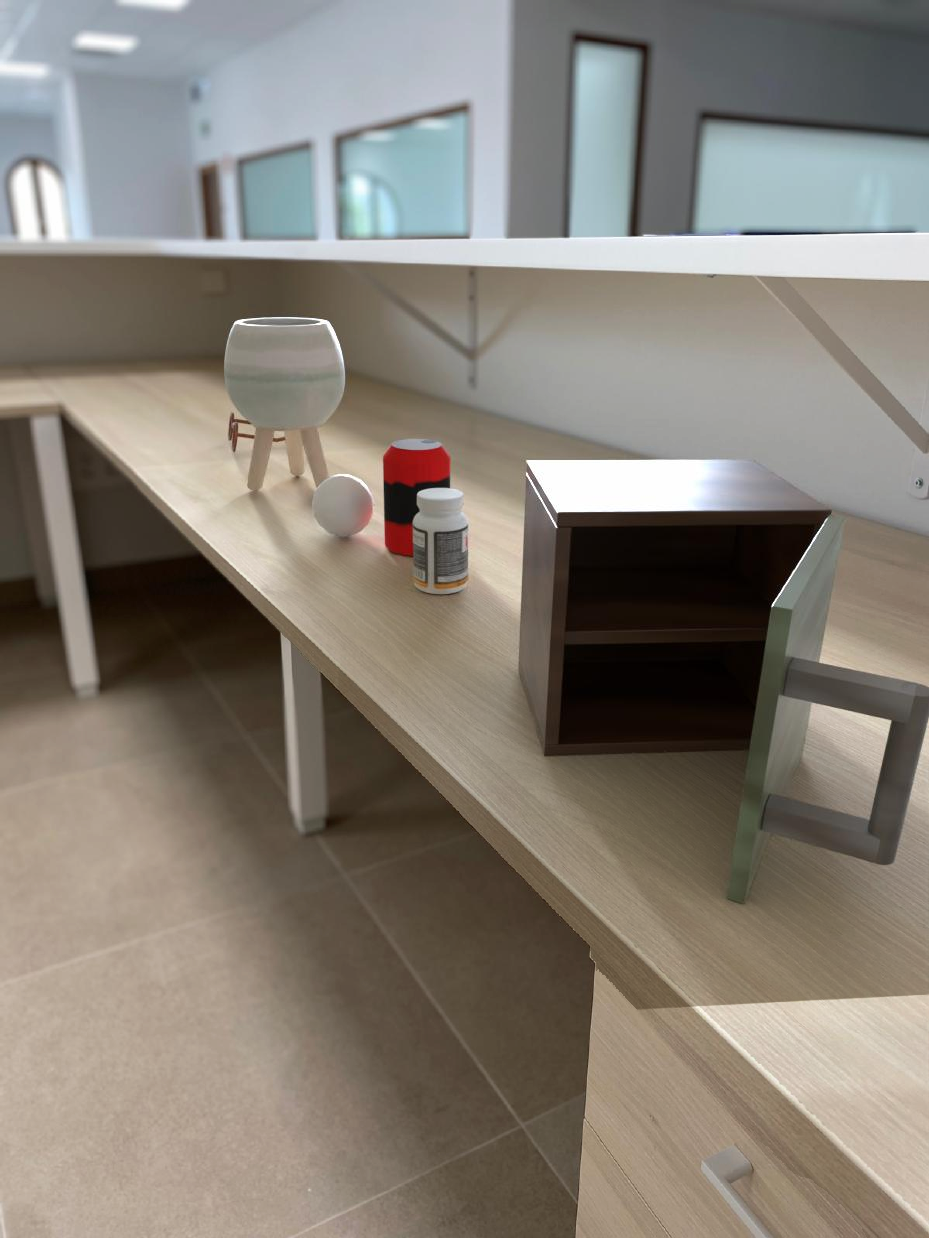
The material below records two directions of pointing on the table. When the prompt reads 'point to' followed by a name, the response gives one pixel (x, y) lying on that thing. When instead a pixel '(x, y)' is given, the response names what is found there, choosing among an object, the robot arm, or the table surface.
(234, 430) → the glasses
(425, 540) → the pill bottle
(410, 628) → the table surface
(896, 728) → the cupboard door
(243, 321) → the planter
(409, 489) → the soda can
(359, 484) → the white ovoid
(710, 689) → the cupboard
